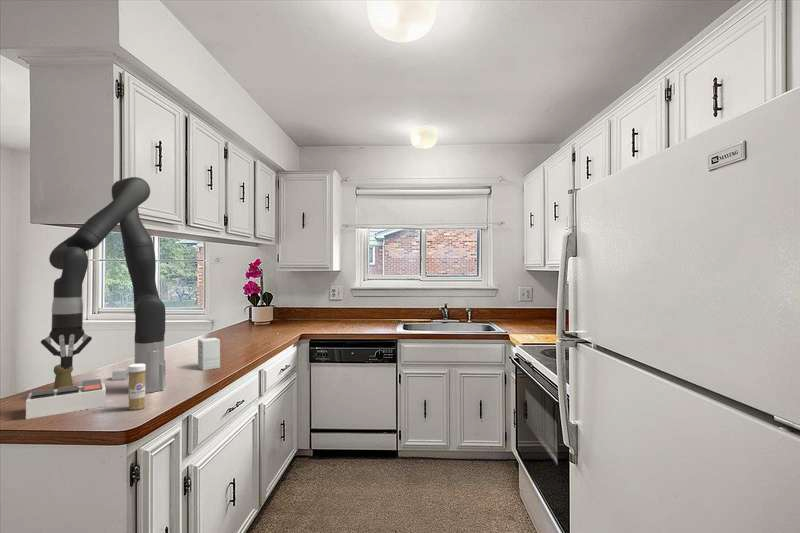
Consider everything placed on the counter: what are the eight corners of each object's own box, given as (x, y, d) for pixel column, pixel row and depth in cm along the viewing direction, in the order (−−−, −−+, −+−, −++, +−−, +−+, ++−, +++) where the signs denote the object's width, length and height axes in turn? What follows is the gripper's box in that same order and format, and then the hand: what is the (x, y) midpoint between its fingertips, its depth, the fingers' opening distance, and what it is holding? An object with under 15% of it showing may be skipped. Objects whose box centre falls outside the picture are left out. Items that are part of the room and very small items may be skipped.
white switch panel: (104, 398, 144) (104, 383, 144) (105, 406, 136) (105, 389, 136) (29, 409, 133) (29, 392, 133) (25, 419, 125) (25, 401, 125)
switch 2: (100, 382, 142) (100, 378, 142) (101, 391, 137) (101, 387, 136) (82, 384, 139) (82, 380, 139) (82, 394, 134) (82, 390, 133)
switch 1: (53, 393, 135) (53, 389, 135) (52, 393, 130) (52, 388, 130) (33, 396, 132) (33, 391, 132) (31, 396, 127) (31, 391, 127)
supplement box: (215, 365, 194) (215, 337, 194) (220, 368, 189) (220, 339, 189) (197, 367, 190) (197, 338, 190) (202, 370, 184) (202, 341, 184)
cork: (78, 393, 150) (78, 362, 150) (65, 398, 144) (65, 365, 144) (60, 394, 150) (60, 362, 150) (47, 399, 144) (47, 366, 144)
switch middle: (77, 390, 139) (77, 385, 139) (77, 389, 133) (77, 385, 133) (58, 393, 136) (58, 388, 136) (57, 392, 130) (57, 387, 130)
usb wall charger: (116, 378, 172) (116, 368, 172) (135, 377, 173) (135, 367, 174) (112, 380, 168) (112, 370, 168) (132, 379, 170) (132, 369, 170)
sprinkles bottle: (133, 411, 131) (133, 366, 131) (125, 409, 133) (125, 365, 133) (148, 407, 135) (148, 363, 135) (140, 405, 137) (140, 362, 137)
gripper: (94, 310, 140) (92, 364, 139) (40, 311, 132) (39, 369, 132) (94, 311, 133) (93, 368, 133) (38, 313, 126) (37, 373, 126)
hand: (66, 368), depth 132 cm, fingers closed
